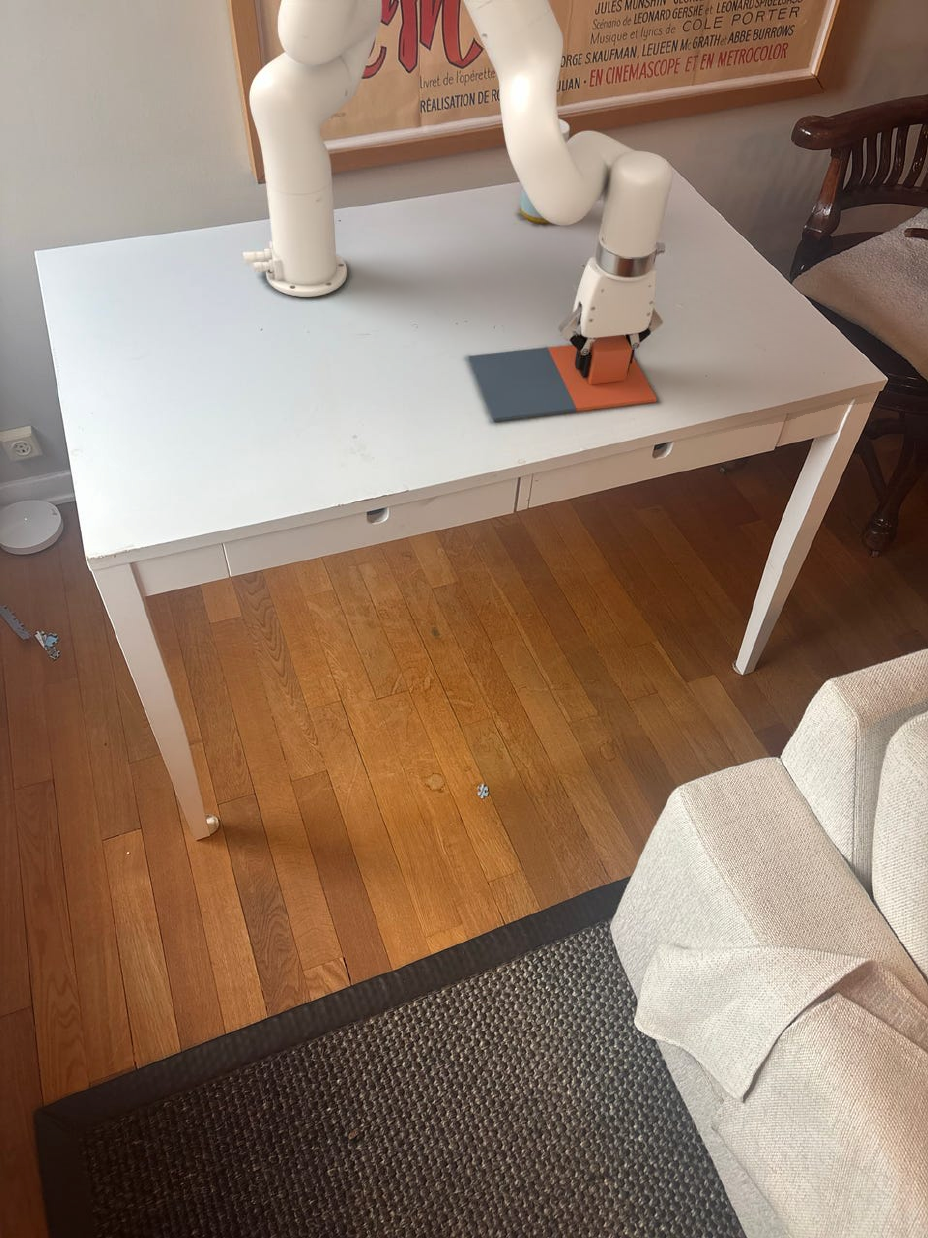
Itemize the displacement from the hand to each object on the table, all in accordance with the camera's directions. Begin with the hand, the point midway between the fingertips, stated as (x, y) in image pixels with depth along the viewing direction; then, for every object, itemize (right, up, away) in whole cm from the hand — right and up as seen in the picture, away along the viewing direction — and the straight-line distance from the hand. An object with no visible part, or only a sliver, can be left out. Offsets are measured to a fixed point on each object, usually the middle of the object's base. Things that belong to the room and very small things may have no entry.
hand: (602, 368), depth 139 cm
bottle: (-7, +34, +28) cm, 44 cm away
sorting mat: (-6, -2, 0) cm, 6 cm away
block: (0, 0, 0) cm, 0 cm away
